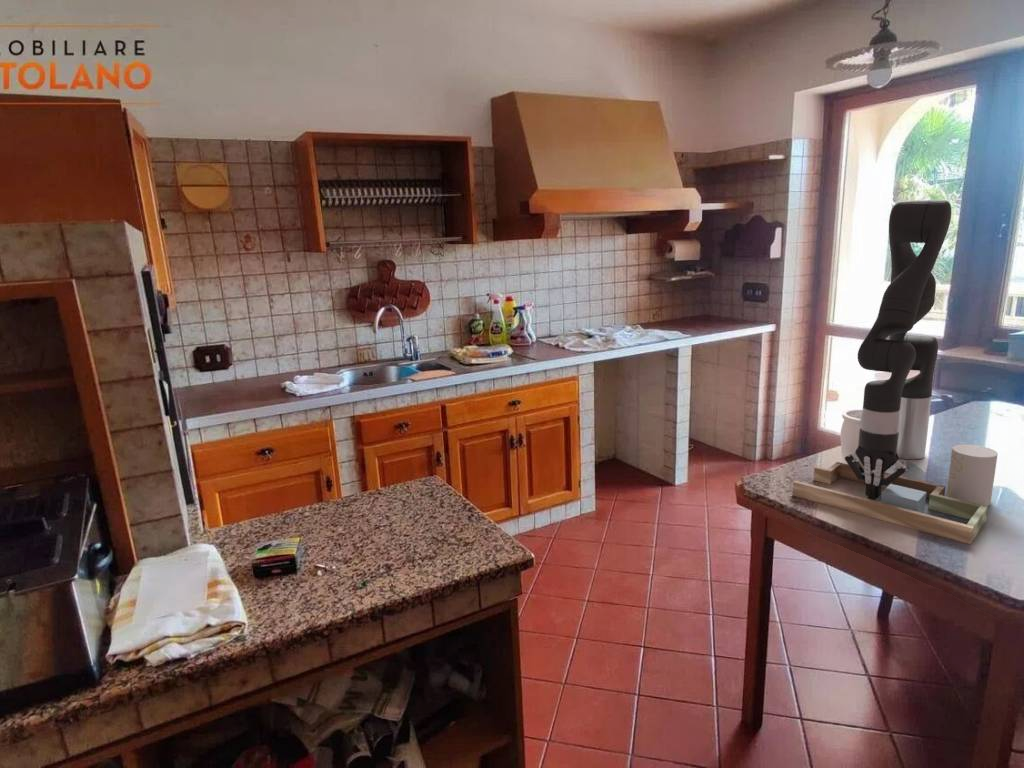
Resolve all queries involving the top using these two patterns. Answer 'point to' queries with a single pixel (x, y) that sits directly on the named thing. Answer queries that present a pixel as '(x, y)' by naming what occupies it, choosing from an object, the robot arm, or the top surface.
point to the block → (904, 498)
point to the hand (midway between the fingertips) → (872, 498)
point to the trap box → (898, 514)
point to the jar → (850, 432)
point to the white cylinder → (972, 473)
